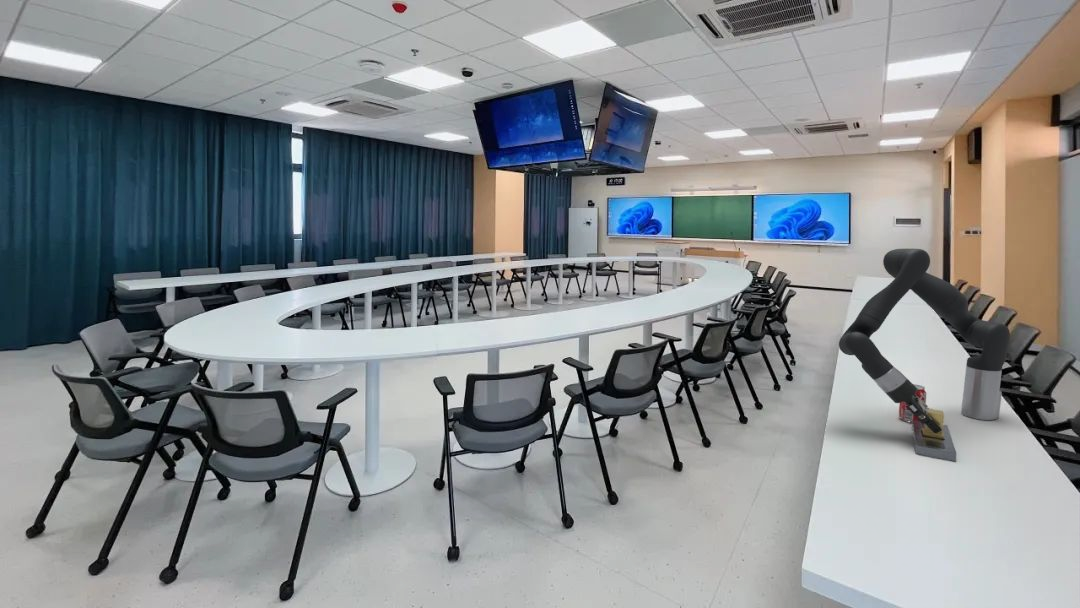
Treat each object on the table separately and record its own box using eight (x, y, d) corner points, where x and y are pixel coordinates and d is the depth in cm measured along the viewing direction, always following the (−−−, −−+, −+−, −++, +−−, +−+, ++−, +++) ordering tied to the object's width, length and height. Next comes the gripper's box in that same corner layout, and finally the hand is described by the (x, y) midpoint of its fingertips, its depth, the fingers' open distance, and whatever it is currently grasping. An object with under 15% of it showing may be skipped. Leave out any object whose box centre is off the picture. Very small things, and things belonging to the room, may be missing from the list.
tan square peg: (921, 438, 157) (924, 407, 156) (941, 441, 154) (944, 410, 153) (922, 444, 153) (925, 412, 152) (943, 447, 150) (946, 415, 149)
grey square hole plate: (911, 427, 166) (912, 419, 166) (946, 432, 161) (947, 425, 161) (915, 453, 146) (916, 445, 146) (955, 461, 141) (956, 452, 141)
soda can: (920, 418, 174) (924, 384, 172) (926, 425, 167) (929, 390, 166) (896, 415, 177) (899, 382, 175) (900, 422, 170) (903, 388, 168)
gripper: (906, 383, 149) (952, 428, 145) (905, 372, 161) (947, 413, 156) (883, 397, 153) (927, 441, 148) (883, 385, 165) (924, 426, 160)
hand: (937, 427), depth 152 cm, fingers open, 8 cm apart
